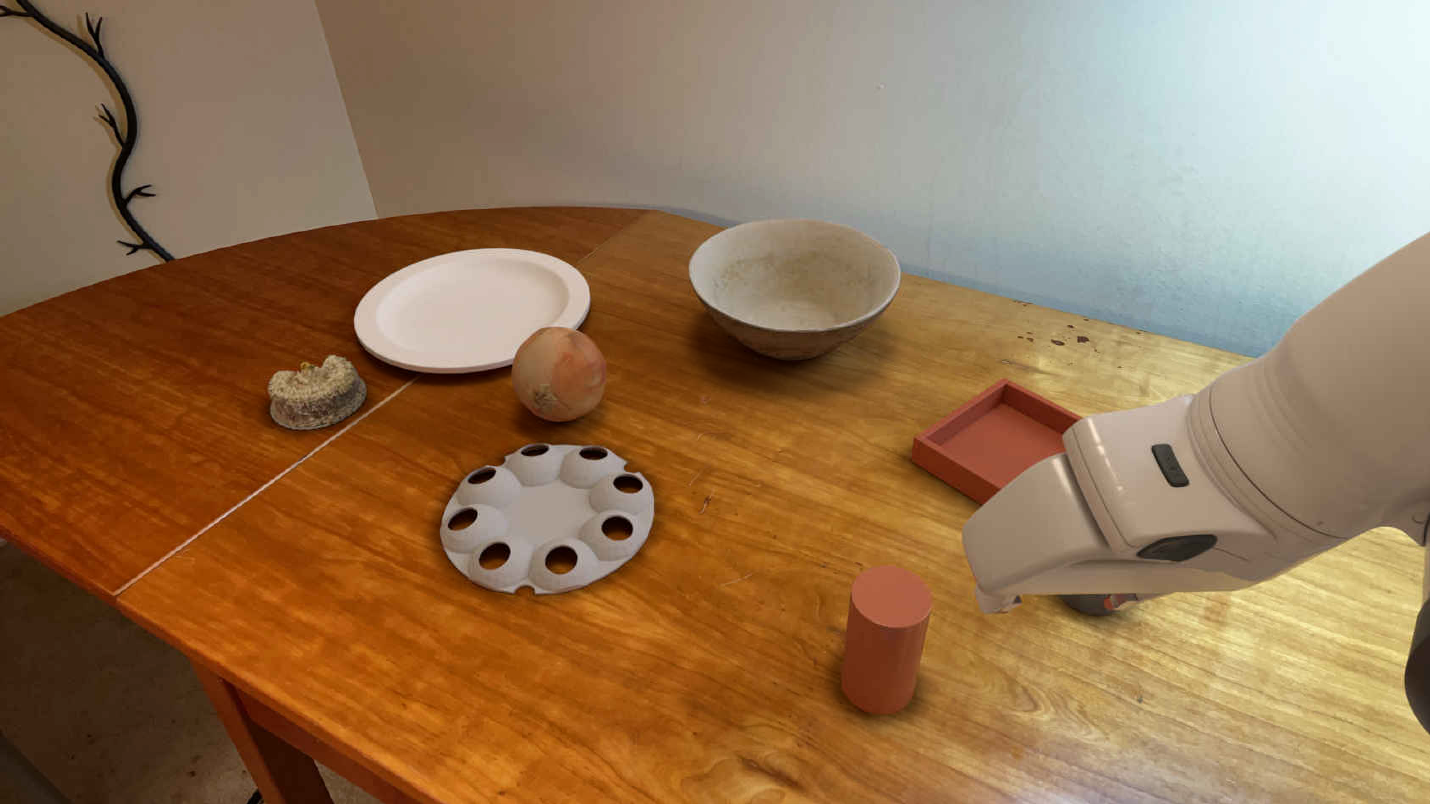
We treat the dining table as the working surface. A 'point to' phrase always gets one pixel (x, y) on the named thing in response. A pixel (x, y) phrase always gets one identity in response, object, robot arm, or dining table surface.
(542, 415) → the onion
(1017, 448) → the rust tray
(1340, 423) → the robot arm
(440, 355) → the plate
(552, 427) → the dining table surface
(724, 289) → the bowl
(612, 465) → the grey disc with holes
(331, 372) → the cake
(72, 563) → the dining table surface
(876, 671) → the terracotta canister
